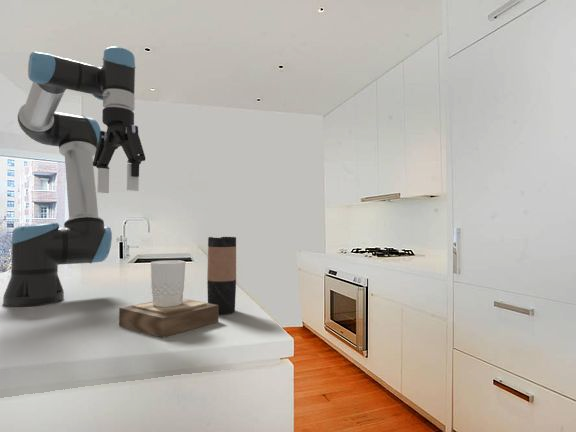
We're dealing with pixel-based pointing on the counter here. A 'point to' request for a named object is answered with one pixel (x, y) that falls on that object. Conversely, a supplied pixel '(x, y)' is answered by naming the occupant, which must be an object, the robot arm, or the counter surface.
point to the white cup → (167, 282)
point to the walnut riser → (168, 317)
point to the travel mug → (222, 273)
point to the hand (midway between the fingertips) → (117, 191)
